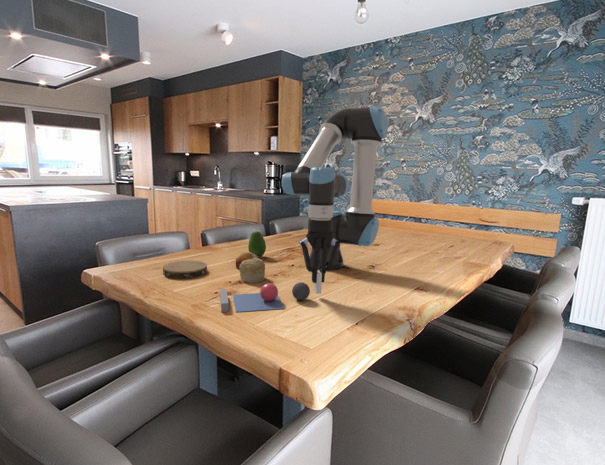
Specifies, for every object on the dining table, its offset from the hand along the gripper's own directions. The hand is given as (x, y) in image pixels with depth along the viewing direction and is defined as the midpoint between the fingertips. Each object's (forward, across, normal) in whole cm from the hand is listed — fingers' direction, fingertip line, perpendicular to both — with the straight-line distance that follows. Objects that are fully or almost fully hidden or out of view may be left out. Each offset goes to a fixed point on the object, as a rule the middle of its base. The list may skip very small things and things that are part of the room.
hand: (317, 292), depth 112 cm
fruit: (+2, -12, +55) cm, 56 cm away
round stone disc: (+3, -42, +35) cm, 55 cm away
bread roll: (+2, -18, +39) cm, 43 cm away
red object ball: (-1, -16, 0) cm, 16 cm away
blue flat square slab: (+2, -19, 0) cm, 19 cm away
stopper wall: (+2, -29, 0) cm, 29 cm away
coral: (+2, -18, +23) cm, 29 cm away
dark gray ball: (-1, -6, -1) cm, 6 cm away
